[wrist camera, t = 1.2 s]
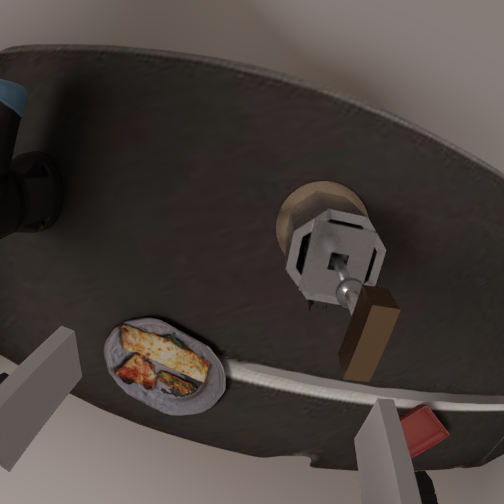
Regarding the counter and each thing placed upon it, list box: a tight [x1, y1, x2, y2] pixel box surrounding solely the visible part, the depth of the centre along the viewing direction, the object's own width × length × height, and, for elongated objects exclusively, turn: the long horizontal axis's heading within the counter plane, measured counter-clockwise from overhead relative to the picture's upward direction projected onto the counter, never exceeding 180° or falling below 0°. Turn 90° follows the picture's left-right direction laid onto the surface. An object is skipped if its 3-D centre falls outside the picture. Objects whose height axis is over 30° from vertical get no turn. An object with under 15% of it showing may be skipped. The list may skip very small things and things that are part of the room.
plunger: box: [304, 223, 401, 382], centre depth 28 cm, size 7×7×19 cm
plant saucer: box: [399, 405, 449, 458], centre depth 60 cm, size 18×18×3 cm
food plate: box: [103, 317, 226, 416], centre depth 58 cm, size 25×23×4 cm
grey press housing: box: [276, 181, 386, 314], centre depth 41 cm, size 14×15×15 cm
